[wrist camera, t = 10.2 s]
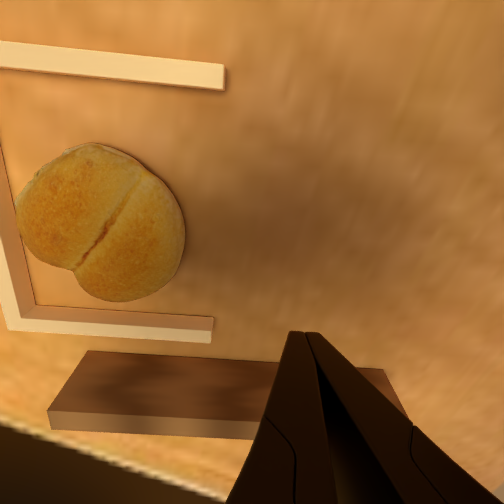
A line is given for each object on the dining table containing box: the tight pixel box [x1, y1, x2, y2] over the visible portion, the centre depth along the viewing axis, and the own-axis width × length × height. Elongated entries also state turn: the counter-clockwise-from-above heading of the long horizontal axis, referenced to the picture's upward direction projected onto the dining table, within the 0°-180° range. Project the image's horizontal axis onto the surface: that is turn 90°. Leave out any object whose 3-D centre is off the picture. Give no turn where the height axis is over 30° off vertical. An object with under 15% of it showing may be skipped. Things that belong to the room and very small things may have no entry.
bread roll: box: [15, 143, 186, 302], centre depth 17 cm, size 8×9×4 cm
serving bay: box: [0, 41, 226, 343], centre depth 18 cm, size 13×16×2 cm
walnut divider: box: [47, 351, 409, 440], centre depth 21 cm, size 22×2×5 cm, turn 85°
